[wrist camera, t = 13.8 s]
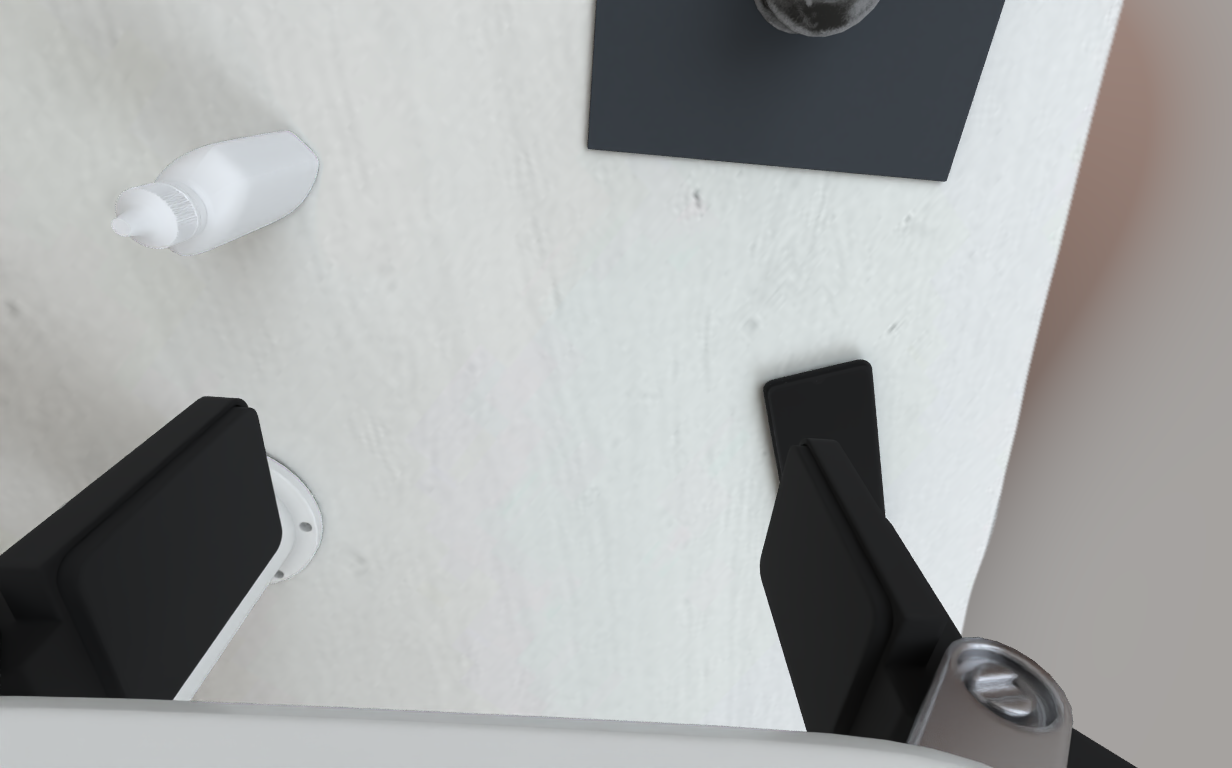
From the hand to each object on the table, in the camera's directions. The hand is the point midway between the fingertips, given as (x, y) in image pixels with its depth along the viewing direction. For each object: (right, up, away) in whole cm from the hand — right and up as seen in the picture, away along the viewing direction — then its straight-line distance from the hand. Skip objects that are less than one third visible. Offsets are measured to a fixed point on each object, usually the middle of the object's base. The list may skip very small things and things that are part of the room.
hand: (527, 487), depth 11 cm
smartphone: (+16, -3, +31) cm, 36 cm away
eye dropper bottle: (-17, +13, +23) cm, 31 cm away
